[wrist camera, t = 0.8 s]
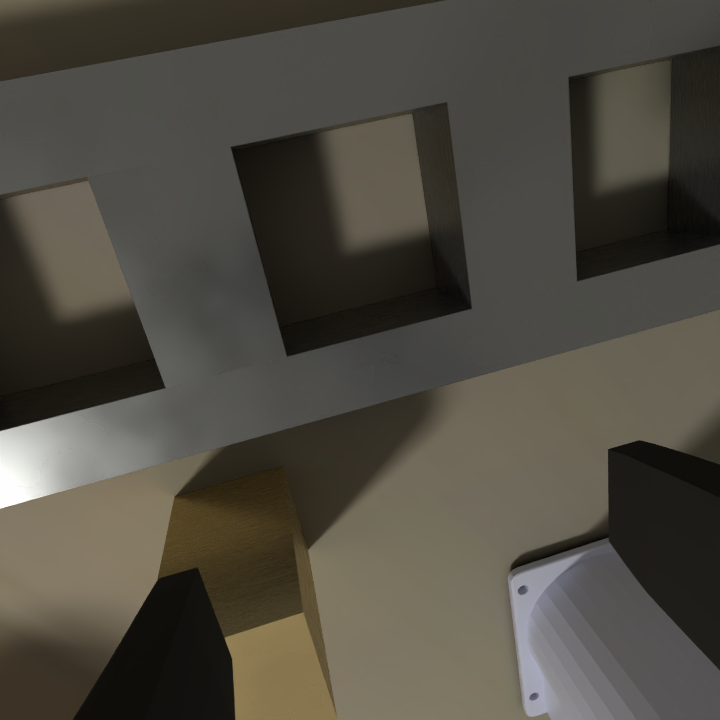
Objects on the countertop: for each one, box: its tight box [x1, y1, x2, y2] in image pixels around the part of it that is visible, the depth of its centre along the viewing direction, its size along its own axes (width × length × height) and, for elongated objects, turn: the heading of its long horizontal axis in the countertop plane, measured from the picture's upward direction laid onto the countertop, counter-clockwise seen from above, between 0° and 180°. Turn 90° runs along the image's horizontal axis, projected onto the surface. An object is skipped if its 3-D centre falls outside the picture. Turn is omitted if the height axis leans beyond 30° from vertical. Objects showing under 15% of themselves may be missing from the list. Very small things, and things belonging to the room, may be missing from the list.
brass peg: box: [157, 466, 337, 720], centre depth 17 cm, size 4×4×7 cm
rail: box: [0, 0, 720, 508], centre depth 16 cm, size 10×28×3 cm, turn 101°
